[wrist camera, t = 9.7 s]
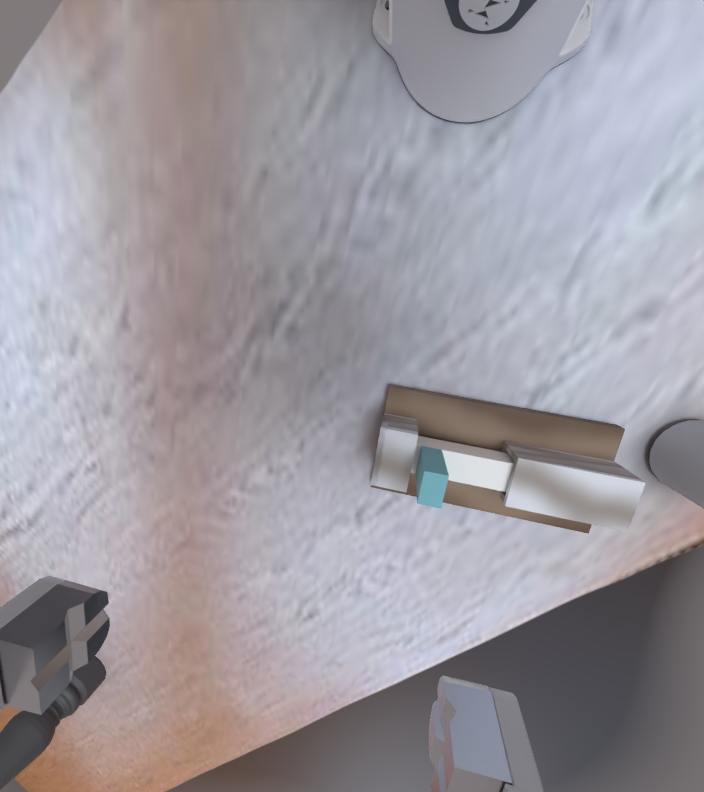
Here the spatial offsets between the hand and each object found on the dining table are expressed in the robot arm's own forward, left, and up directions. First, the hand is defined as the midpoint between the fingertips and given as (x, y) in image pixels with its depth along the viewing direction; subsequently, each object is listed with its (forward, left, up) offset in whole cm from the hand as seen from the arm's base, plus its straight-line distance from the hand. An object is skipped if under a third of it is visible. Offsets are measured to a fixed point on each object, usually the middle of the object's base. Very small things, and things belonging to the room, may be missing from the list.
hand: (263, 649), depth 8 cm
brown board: (+5, +13, -33) cm, 36 cm away
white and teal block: (+5, +10, -30) cm, 32 cm away
